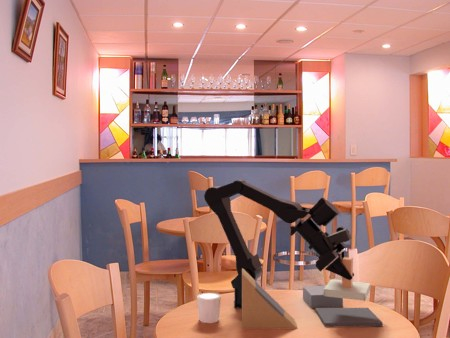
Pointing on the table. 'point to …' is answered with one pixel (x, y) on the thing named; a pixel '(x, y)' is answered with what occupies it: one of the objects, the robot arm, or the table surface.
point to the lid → (347, 285)
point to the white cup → (208, 307)
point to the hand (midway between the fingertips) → (352, 277)
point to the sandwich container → (262, 308)
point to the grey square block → (320, 298)
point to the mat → (347, 317)
